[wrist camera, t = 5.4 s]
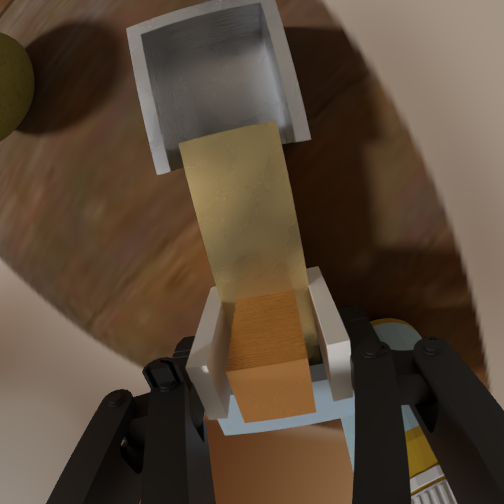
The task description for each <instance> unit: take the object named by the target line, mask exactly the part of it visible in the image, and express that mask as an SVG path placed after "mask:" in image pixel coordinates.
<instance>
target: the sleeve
mask: <svg viewBox="0 0 504 504" xmlns="http://www.w3.org/2000/svg"><path fill="white" fill-rule="evenodd" d="M126 31H127V37H128V42H129V48H130V54H131V59H132V64H133V70H134V75H135V80H136V85H137V90H138V95H139V99H140V104H141V109H142V113H143V118H144V122H145V127H146V131H147V135H148V140H149V144H150V148H151V152H152V156H153V160H154V164H155V168H156V172H157V175H160V174H163V173H167V172H170V171H174V170H177V169H180V168H183V167H184V164H183V160H182V156H181V152H180V148H179V144H178V143H182V142H185V141H189V140H193V139H196V138H200V137H204V136H208V135H212V134H216V133H220V132H224V131H228V130H232V129H236V128H241V127H245V126H250V125H254V124H259V123H264V122H269V121H274V120H276V122H277V126H278V130H279V135H280V139H281V144H286V143H294V142H301V141H306V140H311V136H310V131H309V127H308V122H307V118H306V113H305V109H304V105H303V101H302V96H301V92H300V88H299V84H298V80H297V76H296V72H295V68H294V65H293V61H292V57H291V53H290V50H289V46H288V42H287V39H286V35H285V32H284V28H283V25H282V22H281V18H280V15H279V12H278V8H277V5H276V2H275V0H213V1H209V2H205V3H201V4H198V5H194V6H190V7H187V8H184V9H180V10H177V11H174V12H171V13H168V14H164V15H161V16H159V17H156V18H153V19H150V20H147V21H145V22H142V23H139V24H137V25H134V26H131V27H129V28H126Z"/></svg>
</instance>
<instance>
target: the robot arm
mask: <svg viewBox="0 0 504 504" xmlns="http://www.w3.org/2000/svg"><path fill="white" fill-rule="evenodd" d="M306 271H307V277H308V283H309V290H310V296H311V303H312V309H313V315H314V322H315V328H316V335H317V339H318V342H319V346H320V350H321V354H322V358H323V362H324V366H325V369H326V373H327V377H328V381H329V385H330V389H331V393H332V398H333V402H334V401H339V400H343V399H347V398H352V397H353V391H354V395H355V451H354V481H353V499H352V504H411V488H410V475H409V464H408V454H407V445H406V437H405V429H404V421H403V415H402V408H401V405H409V407H410V408H411V410H412V412H413V414H414V416H415V418H416V420H417V422H418V424H419V426H420V427H421V429H422V431H423V433H424V435H425V437H426V439H427V441H428V443H429V445H430V447H431V449H432V451H433V453H434V455H435V457H436V459H437V461H438V463H439V465H440V467H441V469H442V472H443V474H444V476H445V478H446V480H447V482H448V484H449V486H450V489H451V491H452V493H453V495H454V497H455V499H456V502H457V504H504V411H503V409H502V408H501V406H500V405H499V404H498V403H497V402H496V400H495V399H494V398H493V396H492V395H491V394H490V392H489V391H488V390H487V389H486V387H485V386H484V385H483V384H482V382H481V381H480V380H479V379H478V377H477V376H476V375H475V374H474V372H473V371H472V370H471V369H470V368H469V366H468V365H467V364H466V363H465V362H464V360H463V359H462V358H461V357H460V356H459V355H458V353H457V352H456V351H455V350H454V349H453V348H452V346H451V345H450V344H449V343H448V342H447V341H446V340H444V339H442V338H439V337H431V336H430V337H425V338H422V339H420V340H419V341H417V343H416V344H415V345H414V349H413V350H393V349H390V347H389V345H388V344H386V343H385V342H382V341H380V339H379V337H378V335H377V334H376V332H375V330H374V328H373V326H372V324H371V323H370V321H369V319H368V318H367V315H366V314H365V312H364V310H363V309H361V308H360V307H358V306H356V305H353V306H349V307H345V308H340V309H337V308H336V306H335V303H334V301H333V299H332V296H331V294H330V292H329V290H328V287H327V285H326V283H325V280H324V278H323V276H322V274H321V271H320V269H319V267H318V266H317V267H312V268H307V269H306ZM230 339H231V333H230V330H229V326H228V323H227V320H226V317H225V313H224V310H223V307H222V303H221V301H220V297H219V294H218V290H217V287H211V289H210V293H209V296H208V299H207V302H206V305H205V308H204V311H203V314H202V317H201V320H200V323H199V326H198V330H197V333H196V336H191V337H184V338H183V339H182V340H181V341H180V342H179V343H178V344H177V346H176V349H175V351H174V352H175V353H174V354H173V357H172V358H168V357H165V358H159V359H156V360H153V361H152V362H150V363H148V364H147V365H146V366H145V367H144V369H143V371H142V373H143V375H144V377H145V379H146V381H147V382H148V384H149V386H150V388H151V392H149V393H146V394H143V395H140V396H136V397H133V396H132V394H131V392H129V391H128V390H124V389H120V390H115V391H113V392H111V393H109V394H108V395H107V396H106V397H105V398H104V399H103V400H102V402H101V404H100V405H99V407H98V409H97V411H96V412H95V414H94V416H93V417H92V419H91V421H90V423H89V425H88V426H87V428H86V430H85V432H84V434H83V435H82V437H81V439H80V441H79V442H78V444H77V446H76V448H75V450H74V452H73V453H72V455H71V457H70V459H69V461H68V463H67V465H66V466H65V468H64V471H63V472H62V474H61V476H60V478H59V480H58V481H57V484H56V485H55V488H54V489H53V491H52V493H51V495H50V497H49V499H48V501H47V503H46V504H139V502H140V499H141V504H216V502H215V494H214V487H213V480H212V471H211V463H210V454H209V445H208V437H207V428H206V425H205V423H204V421H203V416H204V411H205V413H206V415H207V417H208V419H209V420H212V419H224V418H228V412H229V403H230V394H231V385H230V383H229V380H228V377H227V374H226V366H227V359H228V352H229V346H230ZM122 440H124V443H123V445H122V446H121V443H122Z"/></svg>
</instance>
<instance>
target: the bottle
mask: <svg viewBox="0 0 504 504" xmlns="http://www.w3.org/2000/svg"><path fill="white" fill-rule="evenodd" d="M370 323H371V324H372V326H373V328H374V330H375V332H376V334H377V335H378V337H379V339H380V341H382V342H385V343H386V344H388V345H389V347H390V349H393V350H413V349H414V345H415V344H416V343H417V341H419V340H420V339H422V337H421V336H420V335H419V333H418V332H417V331H416V330H415V328H414V327H413V326H411V325H410V324H408V323H407V322H405V321H403V320H399V319H394V318H385V319H377V320H373V321H371V322H370ZM401 408H402V415H403V421H404V429H405V437H406V445H407V454H408V464H409V475H410V488H411V504H457V502H456V499H455V497H454V495H453V493H452V491H451V489H450V486H449V484H448V482H447V480H446V478H445V476H444V474H443V472H442V469H441V467H440V465H439V463H438V461H437V459H436V457H435V455H434V453H433V451H432V449H431V447H430V445H429V443H428V441H427V439H426V437H425V435H424V433H423V431H422V429H421V427H420V426H419V424H418V422H417V420H416V418H415V416H414V414H413V412H412V410H411V408H410V407H409V405H401ZM341 421H342V425H343V429H344V433H345V437H346V441H347V446H348V450H349V454H350V459H351V463H352V467H353V472H354V451H355V415H351V416H347V417H343V418H341Z"/></svg>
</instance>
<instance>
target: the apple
mask: <svg viewBox="0 0 504 504" xmlns="http://www.w3.org/2000/svg"><path fill="white" fill-rule="evenodd" d="M34 85H35V80H34V72H33V67H32V63H31V60H30V58H29V56H28V54H27V52H26V50H25V49H24V48H23V47H22V45H21V44H19V43H18V42H17V41H16V40H15V39H13V38H11V37H10V36H8V35H6V34H3V33H0V141H2V140H3V139H5V138H6V137H7V136H8V135H10V134H11V133H12V132H13V131H14V130H15V129H16V128H17V127H18V126H19V124H20V123H21V122H22V120H23V119H24V117H25V116H26V114H27V113H28V110H29V108H30V106H31V103H32V100H33V95H34Z"/></svg>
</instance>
